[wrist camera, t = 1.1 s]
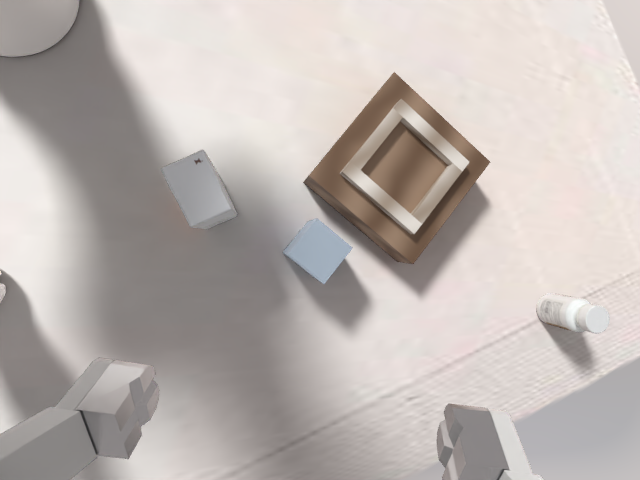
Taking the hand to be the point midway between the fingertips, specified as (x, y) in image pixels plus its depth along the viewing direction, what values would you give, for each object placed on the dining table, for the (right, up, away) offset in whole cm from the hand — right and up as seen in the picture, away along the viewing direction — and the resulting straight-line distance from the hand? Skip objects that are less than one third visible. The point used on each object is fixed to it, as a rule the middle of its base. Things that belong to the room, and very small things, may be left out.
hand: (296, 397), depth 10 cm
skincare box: (-12, +9, +35) cm, 38 cm away
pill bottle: (+33, -5, +43) cm, 54 cm away
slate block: (-1, +3, +37) cm, 37 cm away
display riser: (+10, +13, +39) cm, 42 cm away
